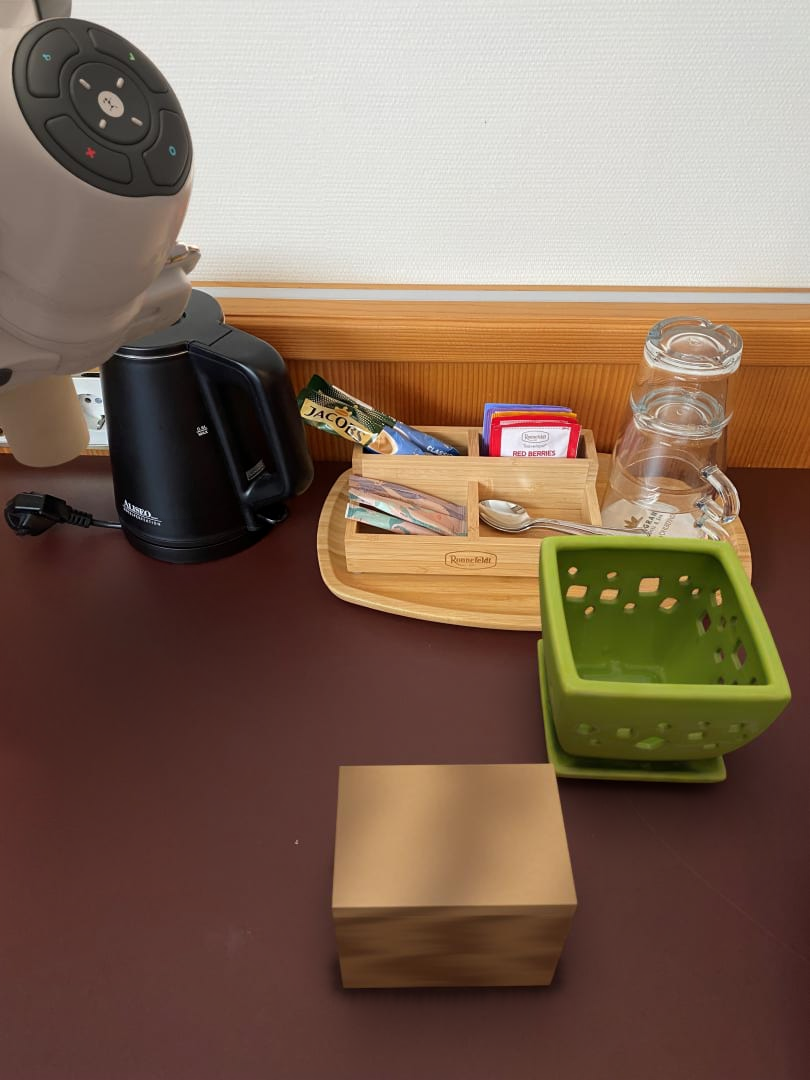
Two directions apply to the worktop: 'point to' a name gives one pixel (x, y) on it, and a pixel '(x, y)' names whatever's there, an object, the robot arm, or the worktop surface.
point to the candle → (44, 422)
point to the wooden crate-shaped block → (450, 875)
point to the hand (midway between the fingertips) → (24, 379)
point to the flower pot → (651, 659)
